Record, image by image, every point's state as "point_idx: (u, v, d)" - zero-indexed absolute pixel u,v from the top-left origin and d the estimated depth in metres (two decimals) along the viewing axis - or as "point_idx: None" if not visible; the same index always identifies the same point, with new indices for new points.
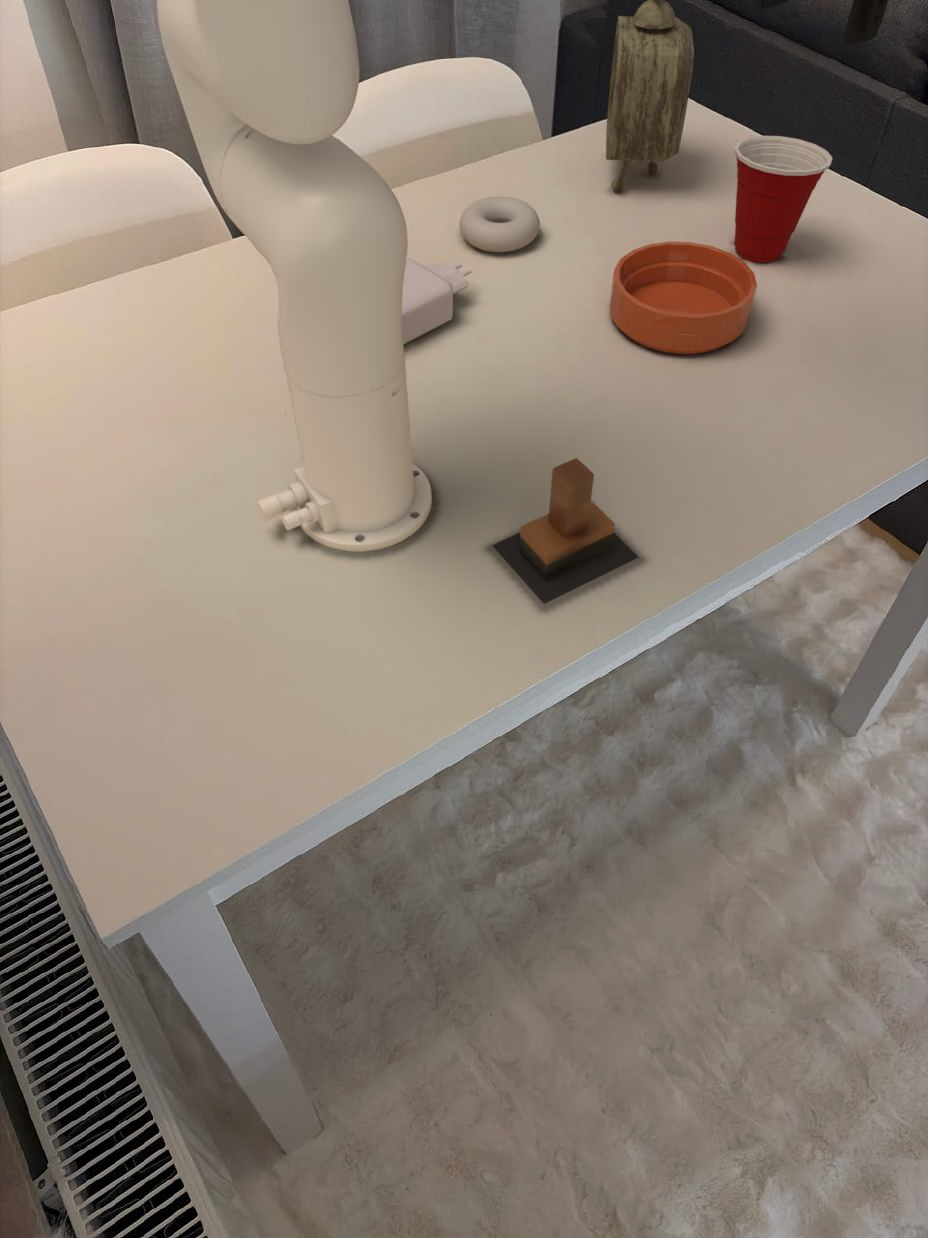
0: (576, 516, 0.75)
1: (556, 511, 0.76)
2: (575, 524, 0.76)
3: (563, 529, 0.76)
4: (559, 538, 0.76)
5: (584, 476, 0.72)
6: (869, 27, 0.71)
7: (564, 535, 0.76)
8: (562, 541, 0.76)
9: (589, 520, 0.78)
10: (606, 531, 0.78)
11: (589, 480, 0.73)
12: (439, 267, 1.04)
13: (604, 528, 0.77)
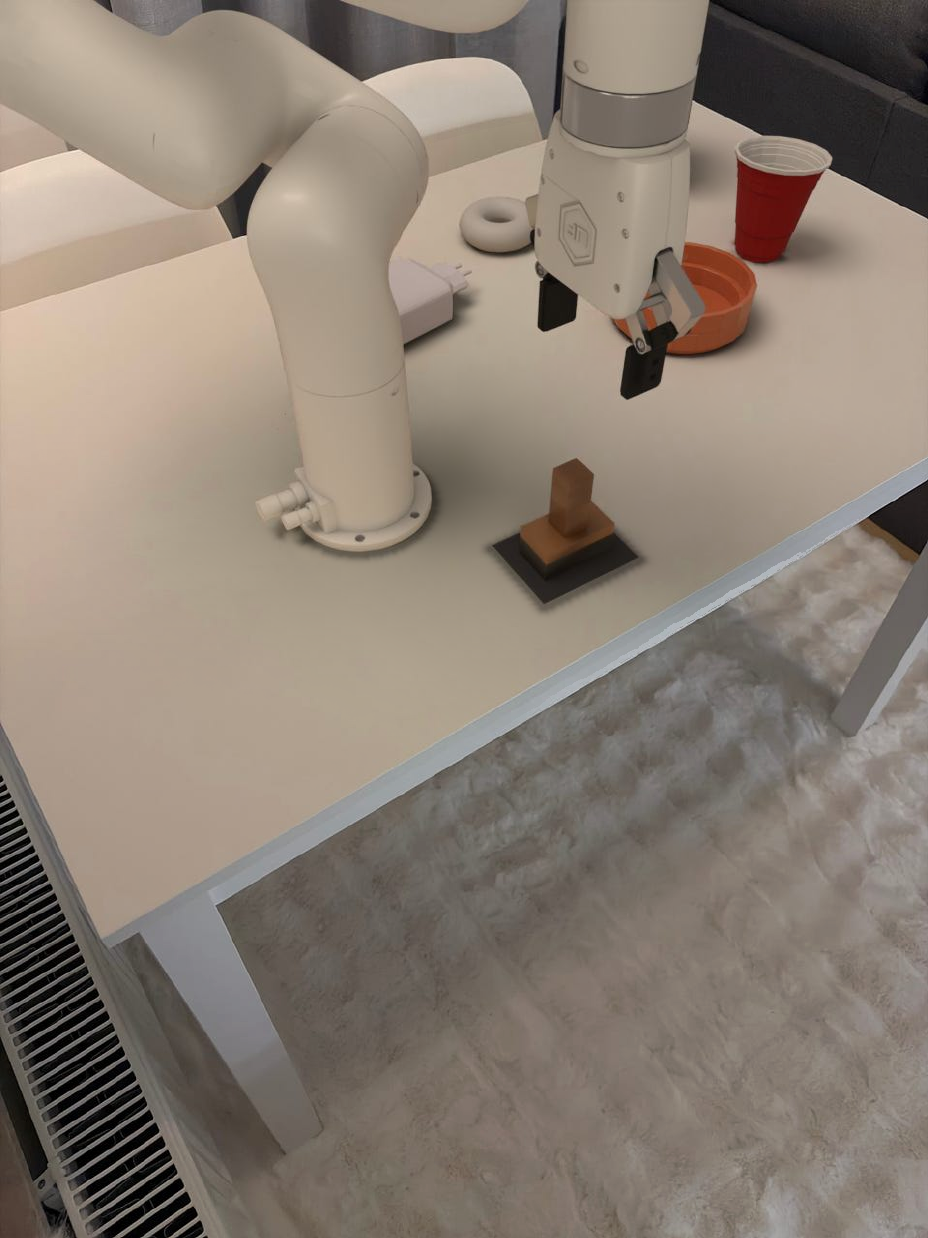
0: (576, 516, 0.75)
1: (556, 511, 0.76)
2: (575, 524, 0.76)
3: (563, 529, 0.76)
4: (559, 538, 0.76)
5: (584, 476, 0.72)
6: (646, 385, 0.62)
7: (564, 535, 0.76)
8: (562, 541, 0.76)
9: (589, 520, 0.78)
10: (606, 531, 0.78)
11: (589, 480, 0.73)
12: (439, 267, 1.04)
13: (604, 528, 0.77)
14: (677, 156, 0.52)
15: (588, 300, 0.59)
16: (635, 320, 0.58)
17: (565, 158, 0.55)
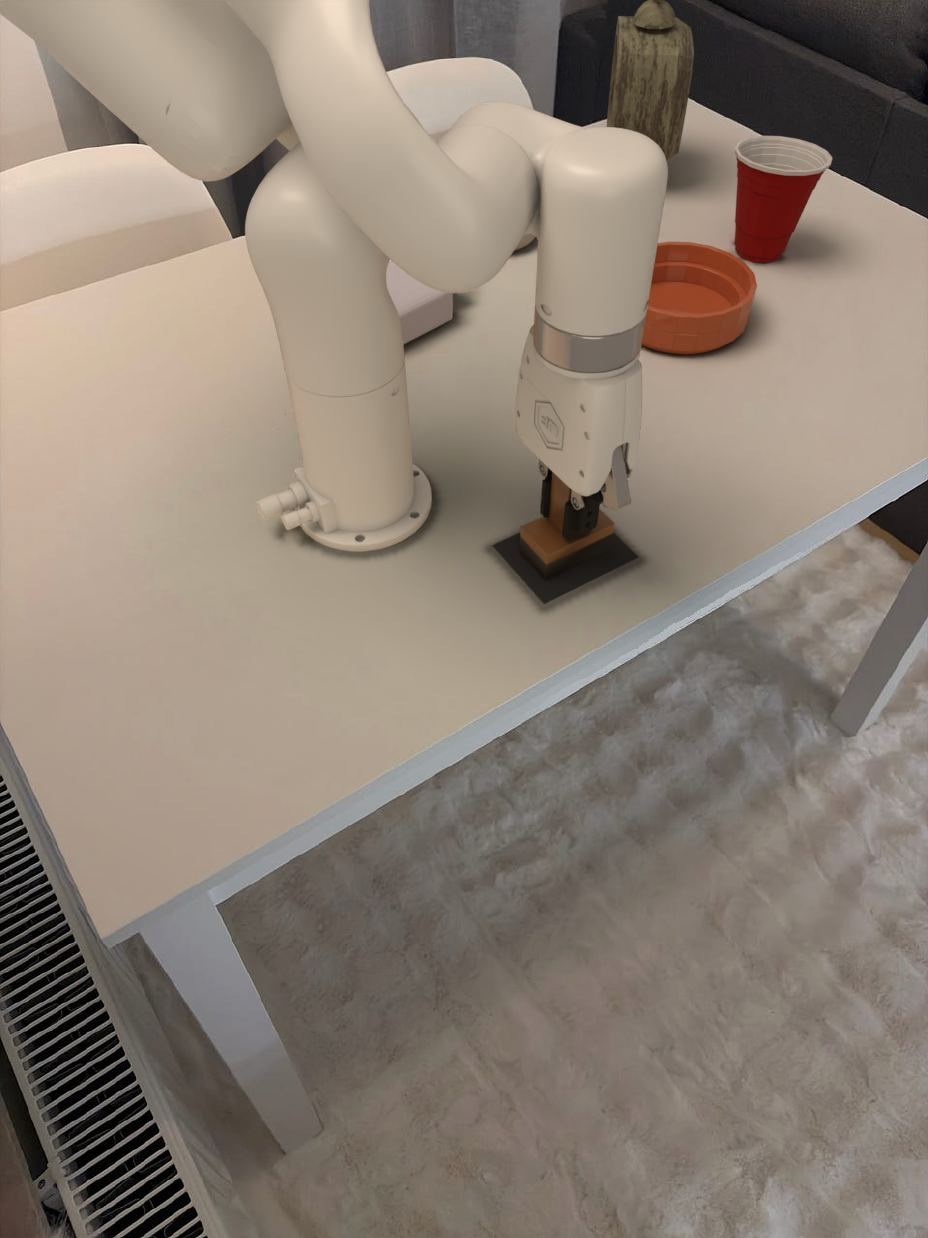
0: None
1: (556, 511, 0.76)
2: None
3: None
4: (559, 538, 0.76)
5: None
6: (582, 531, 0.75)
7: None
8: (562, 541, 0.76)
9: None
10: (606, 531, 0.78)
11: None
12: None
13: (604, 528, 0.77)
14: (630, 378, 0.62)
15: (559, 476, 0.69)
16: None
17: (538, 366, 0.65)
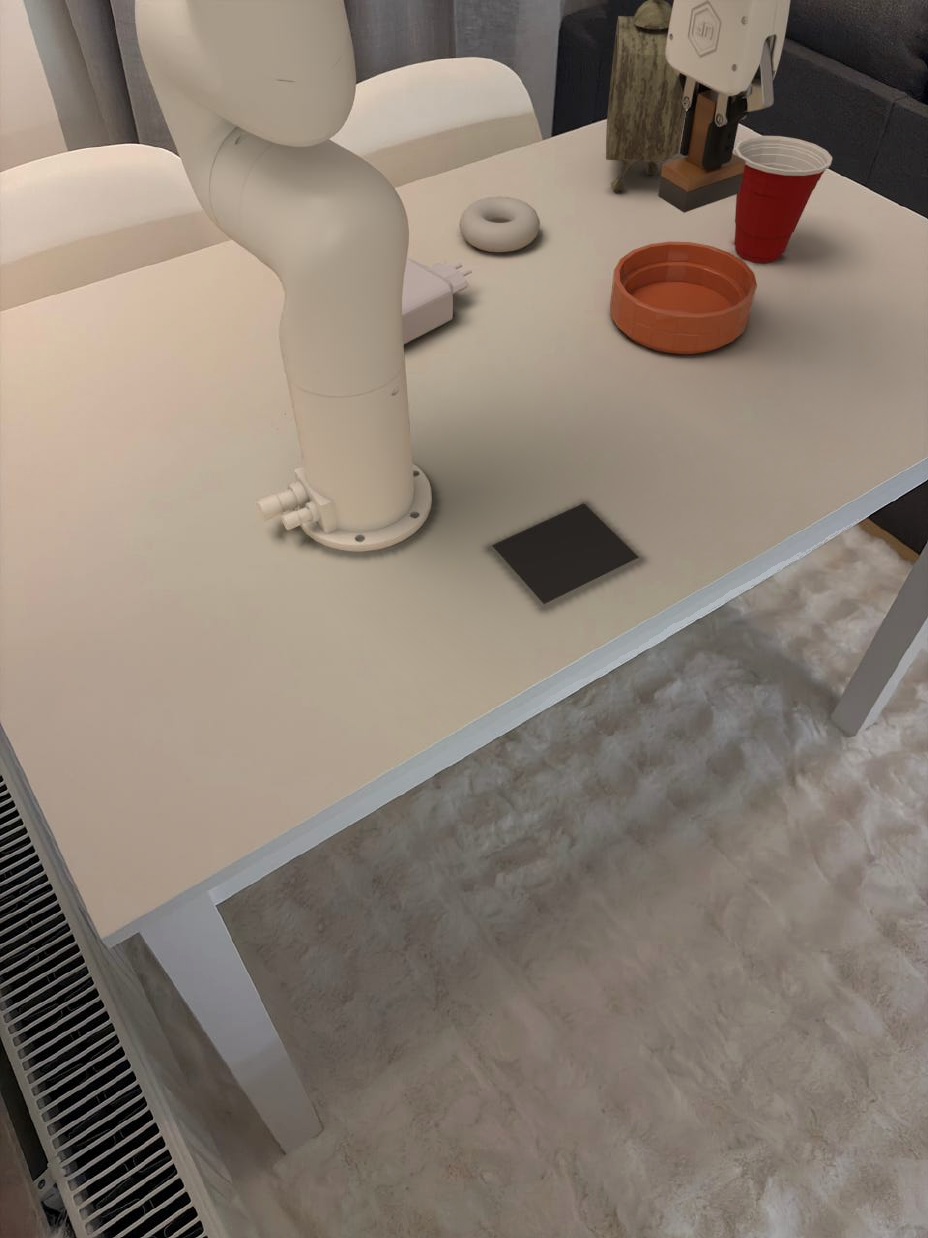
0: None
1: (697, 142, 0.86)
2: None
3: None
4: (698, 169, 0.87)
5: None
6: (721, 155, 0.85)
7: None
8: (701, 171, 0.87)
9: None
10: (738, 168, 0.88)
11: (731, 102, 0.83)
12: (439, 267, 1.04)
13: (737, 163, 0.87)
14: None
15: (709, 84, 0.80)
16: (724, 101, 0.81)
17: None
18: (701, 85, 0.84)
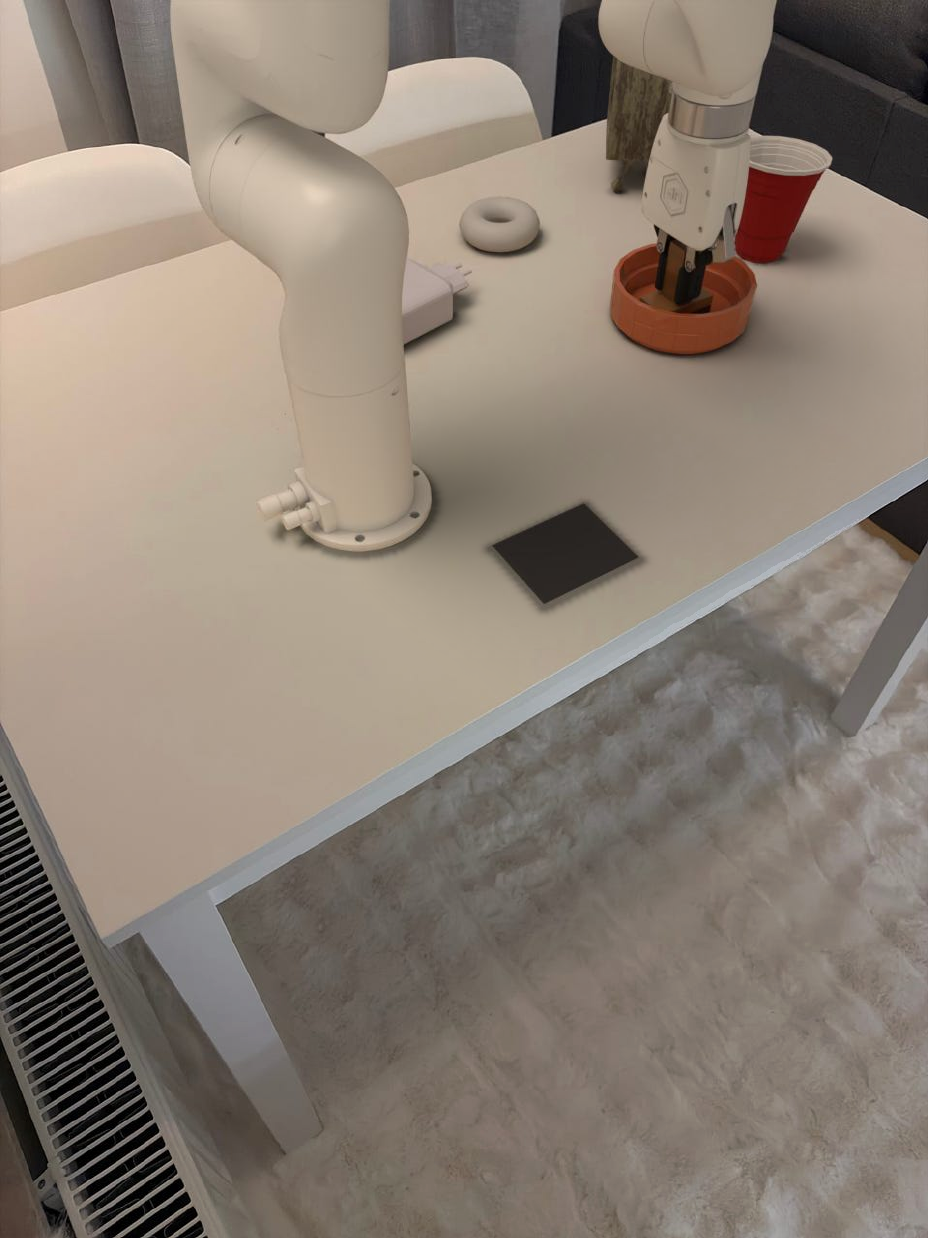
0: None
1: (670, 280, 0.97)
2: None
3: None
4: (671, 303, 0.98)
5: None
6: (691, 294, 0.96)
7: None
8: (674, 305, 0.98)
9: None
10: (706, 301, 0.99)
11: None
12: (439, 267, 1.04)
13: (705, 297, 0.99)
14: (743, 144, 0.83)
15: (679, 239, 0.91)
16: (693, 252, 0.92)
17: (669, 145, 0.87)
18: None
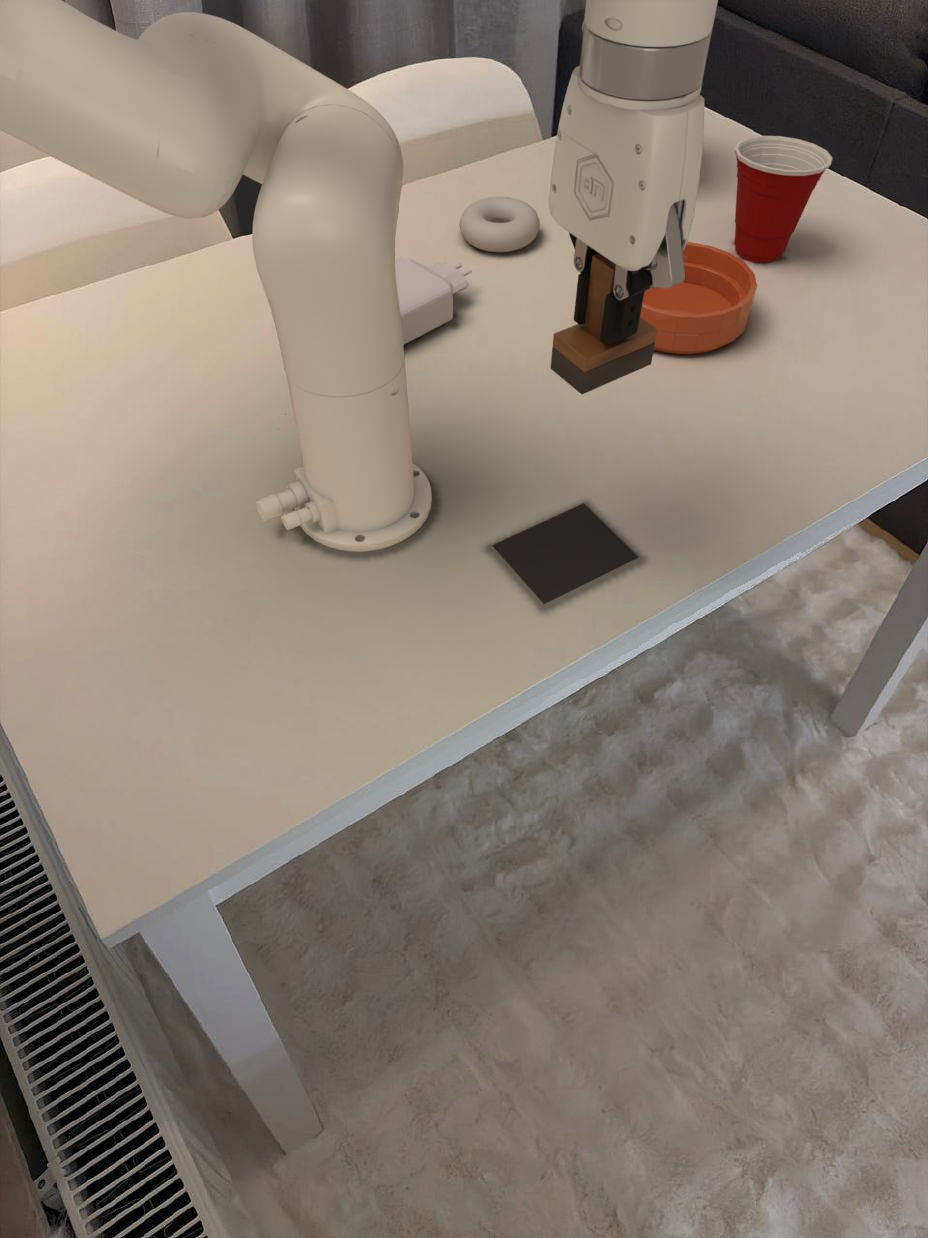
0: None
1: (594, 311, 0.68)
2: None
3: None
4: (597, 343, 0.69)
5: None
6: (624, 331, 0.67)
7: None
8: (601, 346, 0.68)
9: None
10: (648, 338, 0.70)
11: None
12: (439, 267, 1.04)
13: (646, 334, 0.70)
14: (693, 109, 0.54)
15: (603, 253, 0.62)
16: (624, 272, 0.63)
17: (583, 113, 0.57)
18: None
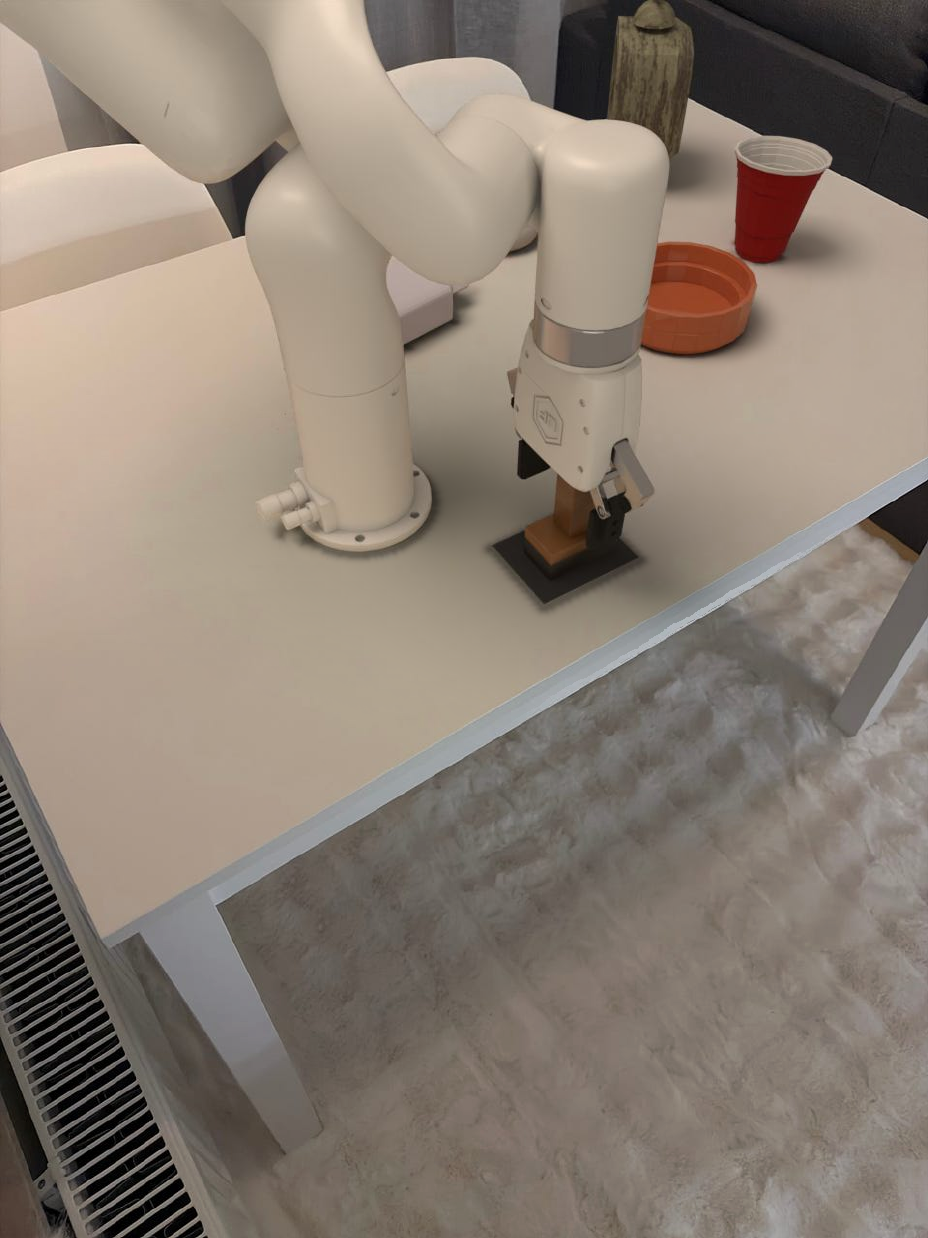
0: (581, 516, 0.75)
1: (561, 511, 0.76)
2: (580, 524, 0.76)
3: (568, 529, 0.76)
4: (564, 538, 0.76)
5: None
6: (607, 540, 0.71)
7: (569, 535, 0.76)
8: (567, 541, 0.76)
9: None
10: None
11: None
12: None
13: None
14: (630, 373, 0.61)
15: (557, 472, 0.69)
16: (597, 492, 0.68)
17: (537, 361, 0.65)
18: None
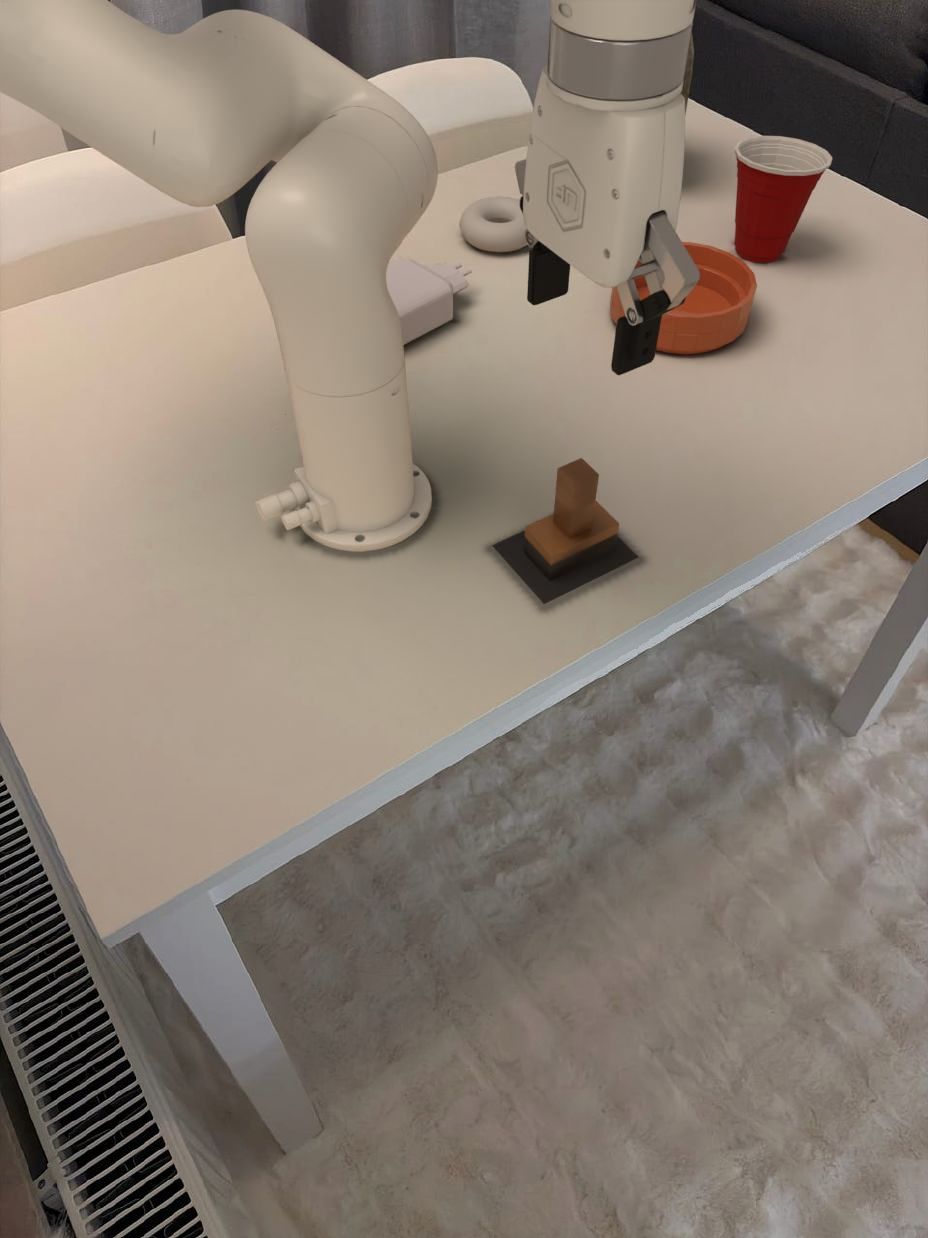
0: (581, 516, 0.75)
1: (561, 511, 0.76)
2: (580, 524, 0.76)
3: (568, 529, 0.76)
4: (564, 538, 0.76)
5: (589, 476, 0.72)
6: (638, 360, 0.59)
7: (569, 535, 0.76)
8: (567, 541, 0.76)
9: (594, 520, 0.78)
10: (611, 531, 0.78)
11: (594, 480, 0.73)
12: (439, 267, 1.04)
13: (609, 528, 0.77)
14: (671, 110, 0.49)
15: (577, 268, 0.56)
16: (626, 289, 0.55)
17: (554, 114, 0.52)
18: None
